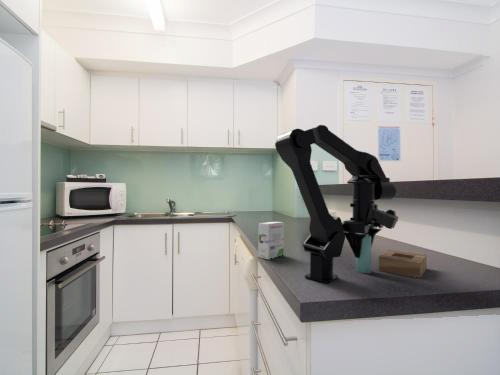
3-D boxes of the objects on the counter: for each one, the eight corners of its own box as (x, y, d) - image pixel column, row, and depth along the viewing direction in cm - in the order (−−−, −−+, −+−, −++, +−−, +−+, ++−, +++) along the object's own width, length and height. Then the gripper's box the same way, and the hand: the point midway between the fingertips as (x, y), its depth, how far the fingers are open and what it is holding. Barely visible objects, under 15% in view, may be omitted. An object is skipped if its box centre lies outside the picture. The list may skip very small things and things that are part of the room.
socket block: (420, 278, 66) (420, 263, 66) (378, 270, 73) (378, 256, 73) (426, 268, 75) (426, 255, 75) (389, 262, 82) (389, 249, 82)
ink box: (273, 253, 92) (273, 220, 92) (284, 255, 89) (284, 222, 89) (257, 257, 86) (257, 222, 86) (268, 260, 83) (268, 223, 83)
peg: (368, 274, 69) (368, 237, 69) (353, 271, 72) (353, 235, 72) (372, 271, 72) (373, 235, 72) (358, 268, 75) (358, 234, 75)
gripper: (386, 201, 60) (385, 267, 60) (402, 200, 74) (402, 254, 74) (340, 200, 67) (339, 258, 67) (362, 199, 81) (362, 248, 81)
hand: (363, 254), depth 72 cm, fingers open, 9 cm apart
